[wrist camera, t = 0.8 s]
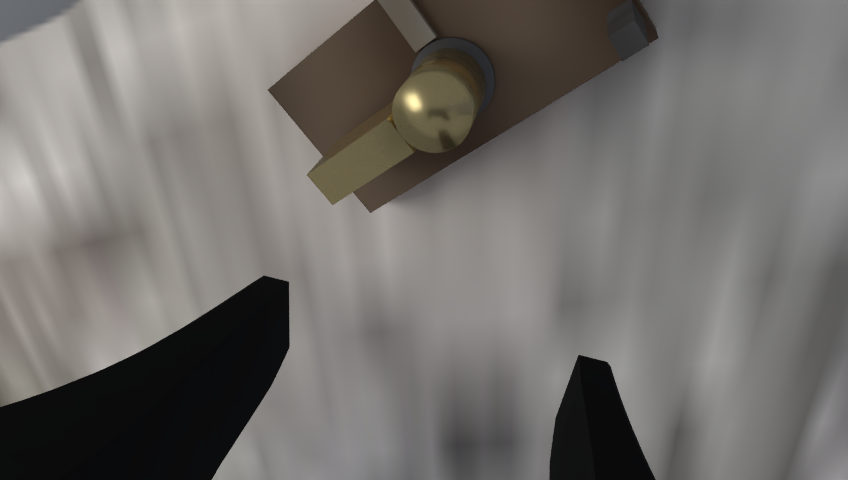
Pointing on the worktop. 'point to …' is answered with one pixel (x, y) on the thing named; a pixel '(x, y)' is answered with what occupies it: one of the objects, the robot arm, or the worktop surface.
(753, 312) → the worktop surface
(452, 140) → the bar
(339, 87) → the plate
